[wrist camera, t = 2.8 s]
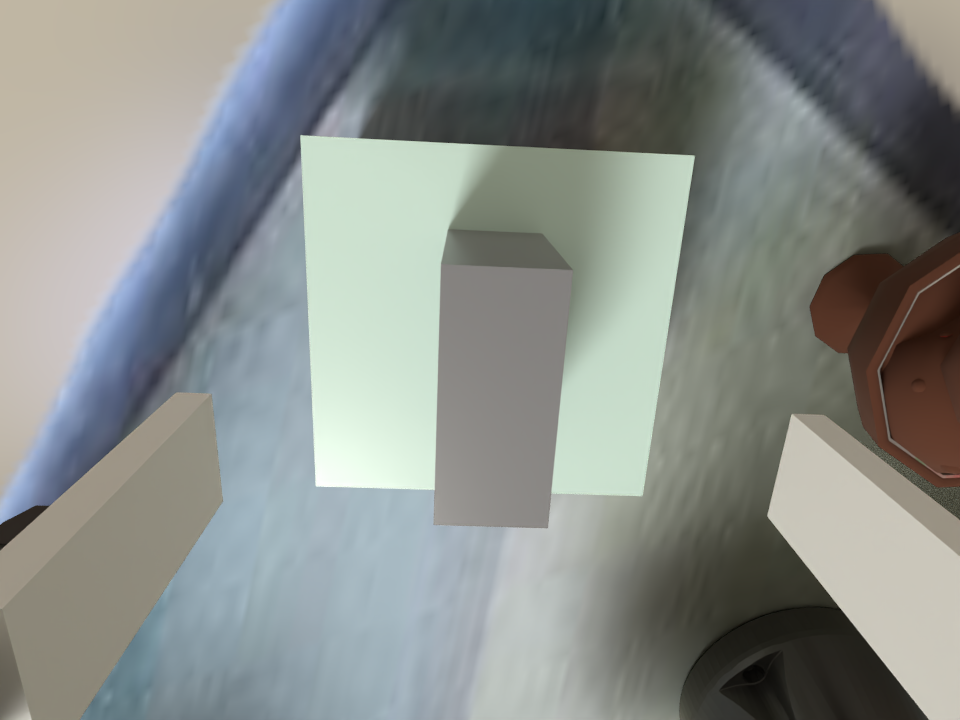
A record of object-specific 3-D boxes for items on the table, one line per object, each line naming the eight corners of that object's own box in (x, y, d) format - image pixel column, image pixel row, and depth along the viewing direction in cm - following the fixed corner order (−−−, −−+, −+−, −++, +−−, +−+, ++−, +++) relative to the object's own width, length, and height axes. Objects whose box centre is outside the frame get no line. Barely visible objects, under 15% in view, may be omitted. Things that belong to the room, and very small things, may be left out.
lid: (677, 154, 24) (791, 161, 16) (630, 473, 29) (700, 611, 20) (313, 136, 24) (228, 132, 15) (325, 463, 28) (265, 601, 20)
